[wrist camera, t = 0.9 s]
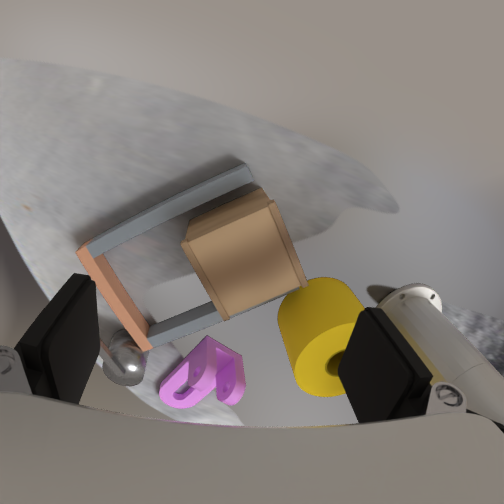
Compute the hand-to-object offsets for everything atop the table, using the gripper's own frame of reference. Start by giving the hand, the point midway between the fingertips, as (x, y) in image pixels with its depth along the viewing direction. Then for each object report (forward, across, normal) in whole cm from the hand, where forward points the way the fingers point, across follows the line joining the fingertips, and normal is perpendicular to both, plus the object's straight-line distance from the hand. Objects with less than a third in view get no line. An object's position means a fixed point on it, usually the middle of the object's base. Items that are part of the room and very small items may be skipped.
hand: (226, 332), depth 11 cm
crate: (+23, -3, +4) cm, 24 cm away
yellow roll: (+24, -14, +13) cm, 30 cm away
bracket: (+24, 0, +24) cm, 34 cm away
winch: (+23, +10, +19) cm, 31 cm away
